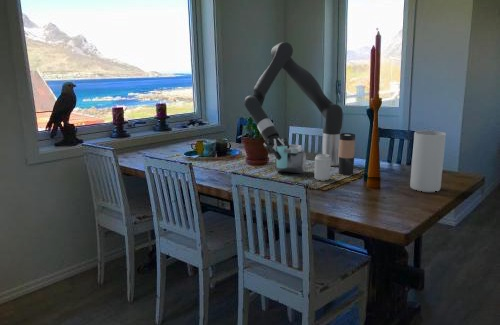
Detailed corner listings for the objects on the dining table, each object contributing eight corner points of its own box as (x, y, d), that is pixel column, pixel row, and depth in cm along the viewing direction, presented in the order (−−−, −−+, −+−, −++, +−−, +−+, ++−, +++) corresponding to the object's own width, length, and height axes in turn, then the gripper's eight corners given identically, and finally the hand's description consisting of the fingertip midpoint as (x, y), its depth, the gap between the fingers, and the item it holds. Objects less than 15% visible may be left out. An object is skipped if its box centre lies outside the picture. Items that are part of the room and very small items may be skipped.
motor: (305, 170, 218) (306, 145, 215) (300, 175, 208) (300, 149, 205) (281, 168, 223) (281, 143, 220) (275, 173, 213) (275, 147, 210)
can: (331, 177, 204) (331, 153, 201) (328, 181, 197) (329, 157, 194) (315, 176, 207) (316, 152, 204) (312, 180, 200) (313, 156, 197)
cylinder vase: (437, 194, 177) (443, 136, 171) (407, 190, 184) (411, 133, 178) (442, 187, 187) (447, 132, 182) (413, 183, 194) (417, 129, 188)
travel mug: (354, 172, 214) (356, 133, 209) (351, 175, 207) (353, 136, 203) (340, 170, 217) (341, 132, 213) (336, 174, 210) (338, 135, 206)
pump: (274, 166, 200) (274, 146, 198) (282, 165, 203) (282, 145, 201) (285, 170, 194) (285, 148, 192) (293, 168, 197) (293, 147, 195)
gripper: (259, 126, 197) (277, 155, 190) (282, 123, 205) (299, 151, 199) (252, 136, 202) (269, 165, 196) (275, 133, 210) (291, 160, 204)
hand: (284, 158), depth 197 cm, fingers closed on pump, 5 cm apart
